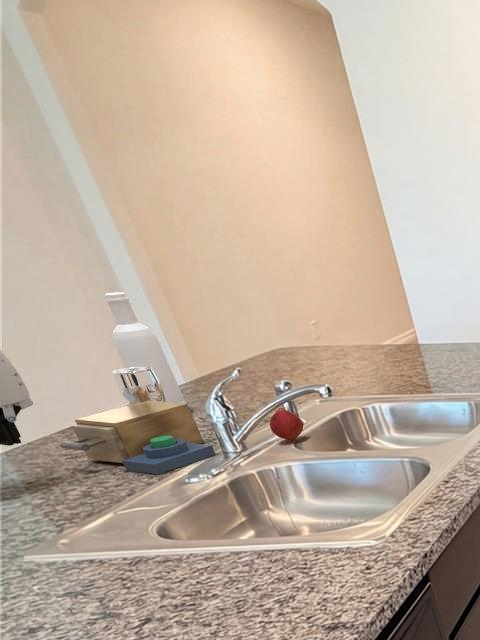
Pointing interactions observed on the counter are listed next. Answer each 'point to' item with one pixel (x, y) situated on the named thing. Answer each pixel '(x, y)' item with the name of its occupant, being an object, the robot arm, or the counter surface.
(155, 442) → the button
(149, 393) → the beer glass
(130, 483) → the counter surface
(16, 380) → the robot arm
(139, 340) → the bottle
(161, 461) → the block
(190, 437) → the cabinet
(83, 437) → the drawer
